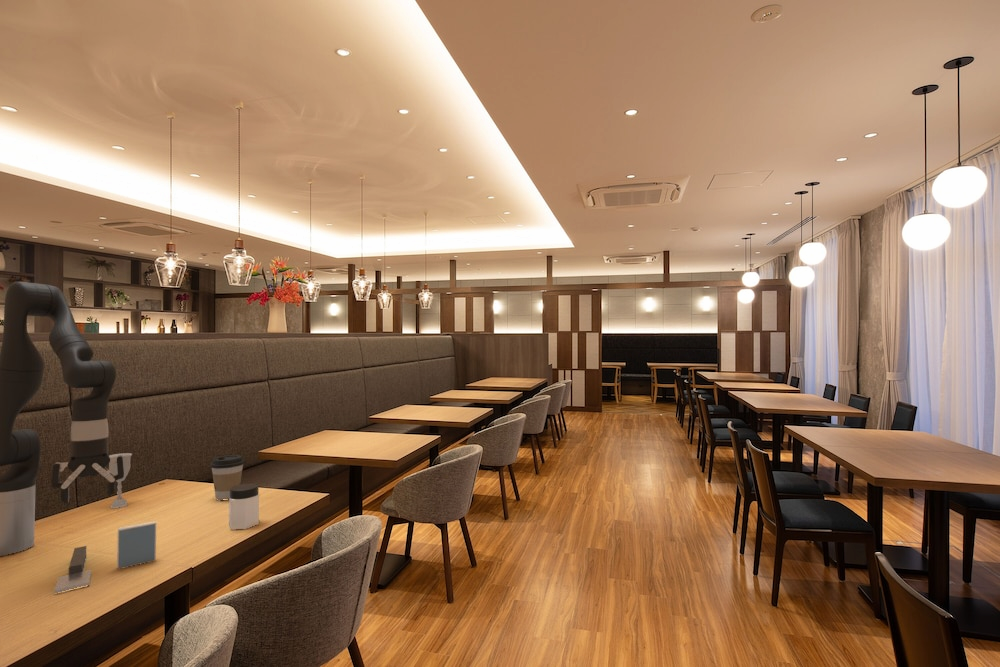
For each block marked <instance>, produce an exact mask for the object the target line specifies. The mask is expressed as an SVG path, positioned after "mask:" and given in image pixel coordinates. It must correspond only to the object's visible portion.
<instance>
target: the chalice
mask: <svg viewBox="0 0 1000 667" xmlns="http://www.w3.org/2000/svg"><path fill="white" fill-rule="evenodd" d="M119 455H122V456H123V466H124V477H123V478H122V479H119V480H116V481H115V483H116V482H117V486H116V488H117V492H116V491H115V492H116V493H115V494H117V497H116V499H114V500H113V501H112V503H111V505H110V509H119V507H120V508H124V506H125V507H126V506H128V505H129V504H128V502H127V499H125V498H123V497H122V493H123V491H122V488H123V485H122V481H123V482H124V481H125V479H126V477H127V476H128V474H129V472H130V469H131V458H132V456H133V453H130V452H129V453H128V452H126V453H125V452H124V453H115V454H109V455H108V456H109V457H110V458H111V457H117V456H119ZM108 470H109V471H110V472H111V473H112V474H113V475H117V474H118V470H117V465H114V464H113V462H109V464H108Z"/></svg>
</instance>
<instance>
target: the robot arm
mask: <svg viewBox="0 0 1000 667" xmlns="http://www.w3.org/2000/svg"><path fill="white" fill-rule="evenodd" d="M69 305H70V304H69V303H68V301H67V299H66V296H65V294H64V293H63V291H62V290H61V289H60V288H59V287H57V286H54V285H51V284H45V283H39V282H38V283H37V282H28V281H14V282H12V283H11V284H10V285H9V287H8V288H7V289H6V293H5V299H4V310H3V331H2V341H1V348H0V467H4V466H8V465H9V468H8V469H7V470H5V471H4V472H3V473H1V474H0V557H3V556H8V554H9V555H12V553H14V554H17V553H20V551H21V552H23V550H24V551H27V550H29V549H31V548H32V547H33V546H34V545H35V524H36V523H35V520H36V519H35V518H36V515H35V514H36V513H35V512H36V480H37V477H38V476H39V471H40V459H41V448H42V443H41V438H40V435H39V434H38V433H37V431H36V430H34V429H32V428H21V429H15V430H13V428H14V425H15V422H16V419H17V417H18V416H19V414H20V412H21V411H22V409H24V407H25V406H26V405H28V403H29V402H30V401H31V400H32V399H33V398H34V396H36V394H37V393H38V391H39V390H40V388H41V386H42V382H43V376H44V372H45V360H44V358H43V357H42V355H41V353H40V351H39V349H38V348H37V347H36V345H35V344H34V343H33V341H32V339H31V337H30V336H29V333H28V332H29V331H28V316H31V317H42V318H43V317H44V318H45V317H48V318H49V319H51V320H52V321H53V323H54V325H53V326H52V328H51V330H50V333H49V336H48V342H49V346H50V347H51V349H52V351H54V354H56V356H57V358H58V359H59V362H60V365H61V371H62V378H63V382H64V383H65V384H66V385H67V386H68V387H70V388H73V389H88V388H89V389H90V388H92V390H91V392H89V394H88V395H85V396H81V397H78V398H76V399H74V400H73V402H72V407H71V408H72V409H71V410H72V411H71V412H72V413H71V428H70V448H69V449H70V451H69V452H70V454H69V455H70V456H69V461H68V462H67V461H66V462H60V461H56V462H55V463H54V464H53V466H52V475H51V485H50V486H51V487H50V488H55V489H60V500H61V502H64V504H69V502H70V486H69V485H70V484H72V483H73V482H74V481H75V479H76V478H78V477H79V478H86V477H90V476H91V477H94V476H95V477H96V476H98V475H101V476H102V477H104V478H105V479H106V480H107V481H108V483H107V497H108V498H111V497H112V496H113V495H114V494H115V492H116V480H119V479H122V478H123V477H124V466H123V456H122V455H119V456H117V457H111V458H110V457H109V456H110V455H109V434H110V432H109V423H108V405H109V404H108V403H109V400H110V396H111V393H112V391H113V389H114V388H113V387H114V385H115V383H116V378H117V370H116V367H115V365H114V364H113V363H112V362H111V361H108V360H92V359H93V357H94V349H93V348H92V346H91V345H90V343H88V341H87V339H86V338H85V336H84V335H83V334H82V333H81V331H80V329H79V328H78V325H77V323H76V320H75V318H74V316H73V313H72V310H71V308H70V306H69ZM109 462H113V464H114V465H117V470H118V474H117V475H113V474H112V473H111V472H110V471H109V468H107V466H109ZM65 468H68V469H69V470H71V474H70V475H69V476H68V477H67V478H66V479H65V481H60V479H61V478H60V477H61V472H64V470H65ZM30 547H31V548H30ZM28 548H29V549H28ZM16 552H17V553H16ZM2 555H3V556H2Z"/></svg>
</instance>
